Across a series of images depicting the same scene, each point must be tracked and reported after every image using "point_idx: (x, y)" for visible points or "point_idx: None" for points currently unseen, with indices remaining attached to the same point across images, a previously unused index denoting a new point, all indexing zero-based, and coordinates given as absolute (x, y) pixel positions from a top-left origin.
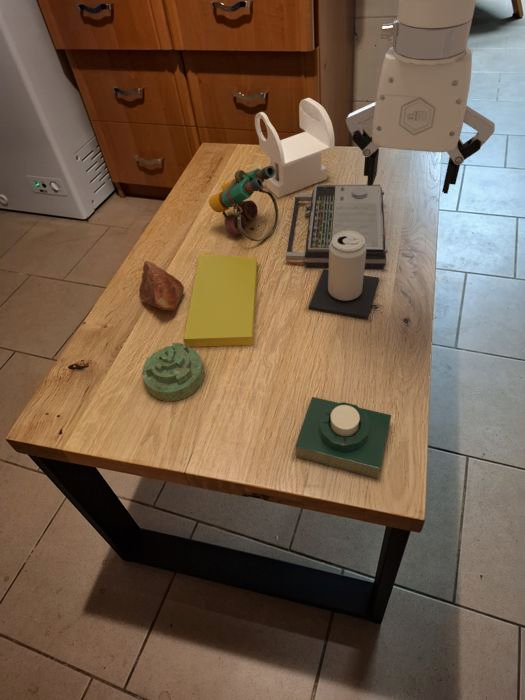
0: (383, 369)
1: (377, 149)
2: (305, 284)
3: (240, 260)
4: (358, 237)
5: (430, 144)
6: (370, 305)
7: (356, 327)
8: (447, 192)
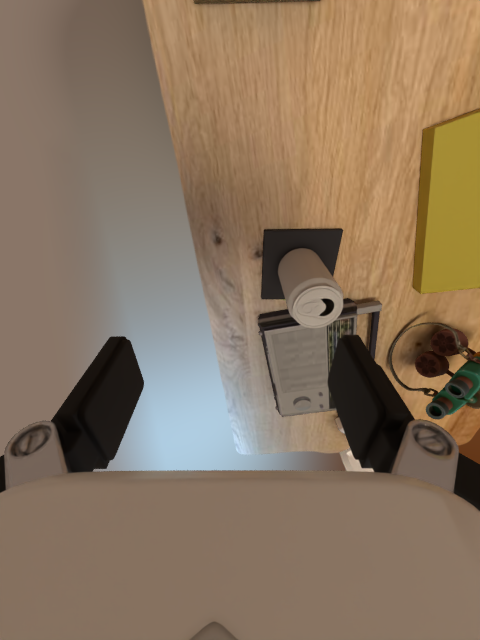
0: (227, 139)
1: (362, 456)
2: (348, 271)
3: (444, 285)
4: (302, 317)
5: (99, 529)
6: (264, 251)
7: (275, 212)
8: (110, 338)
